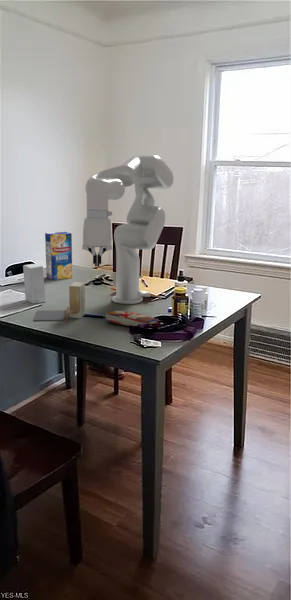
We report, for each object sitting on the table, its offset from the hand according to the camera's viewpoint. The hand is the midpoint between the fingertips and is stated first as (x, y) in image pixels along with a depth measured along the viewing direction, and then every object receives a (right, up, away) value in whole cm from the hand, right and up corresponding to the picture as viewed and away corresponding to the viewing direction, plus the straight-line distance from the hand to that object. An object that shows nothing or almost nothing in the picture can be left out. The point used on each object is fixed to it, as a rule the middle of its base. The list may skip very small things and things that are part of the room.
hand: (97, 265), depth 176 cm
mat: (-18, -18, +4) cm, 26 cm away
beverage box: (-25, -1, +65) cm, 70 cm away
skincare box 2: (-8, -18, +5) cm, 21 cm away
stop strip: (-12, -18, +4) cm, 22 cm away
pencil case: (+13, -22, -5) cm, 26 cm away
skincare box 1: (-28, -13, +23) cm, 38 cm away
